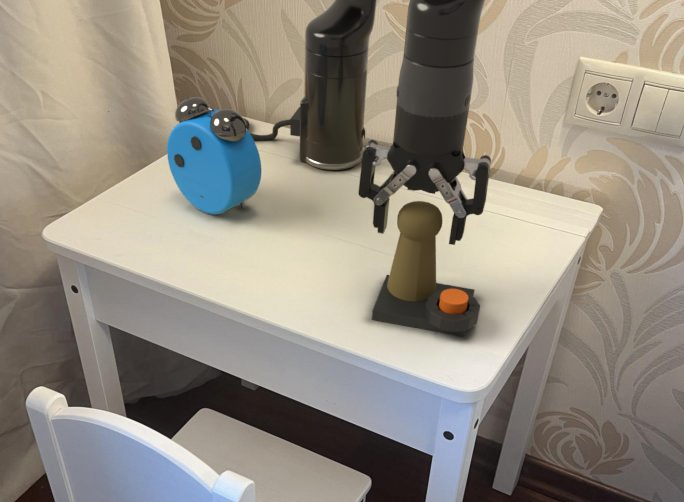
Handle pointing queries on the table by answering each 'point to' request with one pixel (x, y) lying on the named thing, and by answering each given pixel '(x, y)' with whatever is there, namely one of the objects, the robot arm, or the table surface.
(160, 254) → the table surface
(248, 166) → the alarm clock
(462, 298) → the tare button
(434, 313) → the scale
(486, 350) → the table surface
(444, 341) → the table surface
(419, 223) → the olive brown pawn
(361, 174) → the robot arm
